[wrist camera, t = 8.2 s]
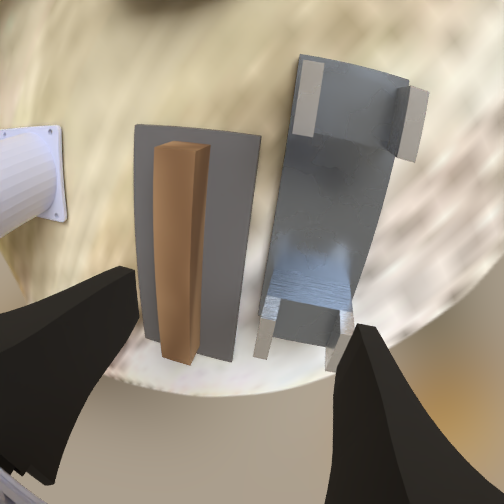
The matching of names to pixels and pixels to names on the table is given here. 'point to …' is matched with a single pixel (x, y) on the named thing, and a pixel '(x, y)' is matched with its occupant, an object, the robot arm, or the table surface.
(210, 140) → the mat
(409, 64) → the table surface
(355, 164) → the stand
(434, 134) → the table surface
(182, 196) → the rail
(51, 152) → the robot arm
